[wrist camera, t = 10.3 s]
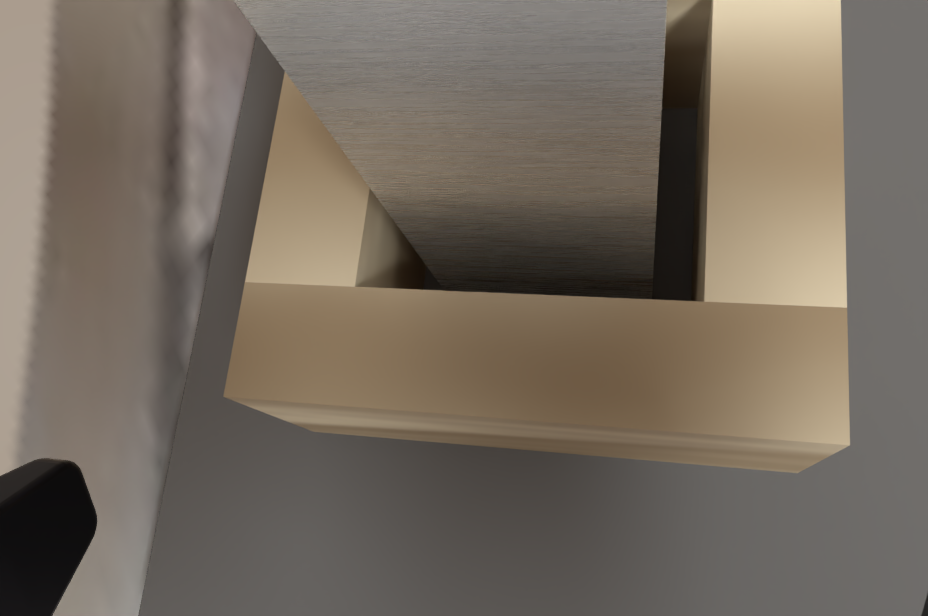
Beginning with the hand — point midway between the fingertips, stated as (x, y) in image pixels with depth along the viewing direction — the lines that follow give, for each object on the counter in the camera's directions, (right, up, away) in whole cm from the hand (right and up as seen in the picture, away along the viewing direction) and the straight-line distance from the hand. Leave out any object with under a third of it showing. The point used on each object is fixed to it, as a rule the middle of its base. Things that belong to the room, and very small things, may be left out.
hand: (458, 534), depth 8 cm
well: (+2, +4, +10) cm, 11 cm away
